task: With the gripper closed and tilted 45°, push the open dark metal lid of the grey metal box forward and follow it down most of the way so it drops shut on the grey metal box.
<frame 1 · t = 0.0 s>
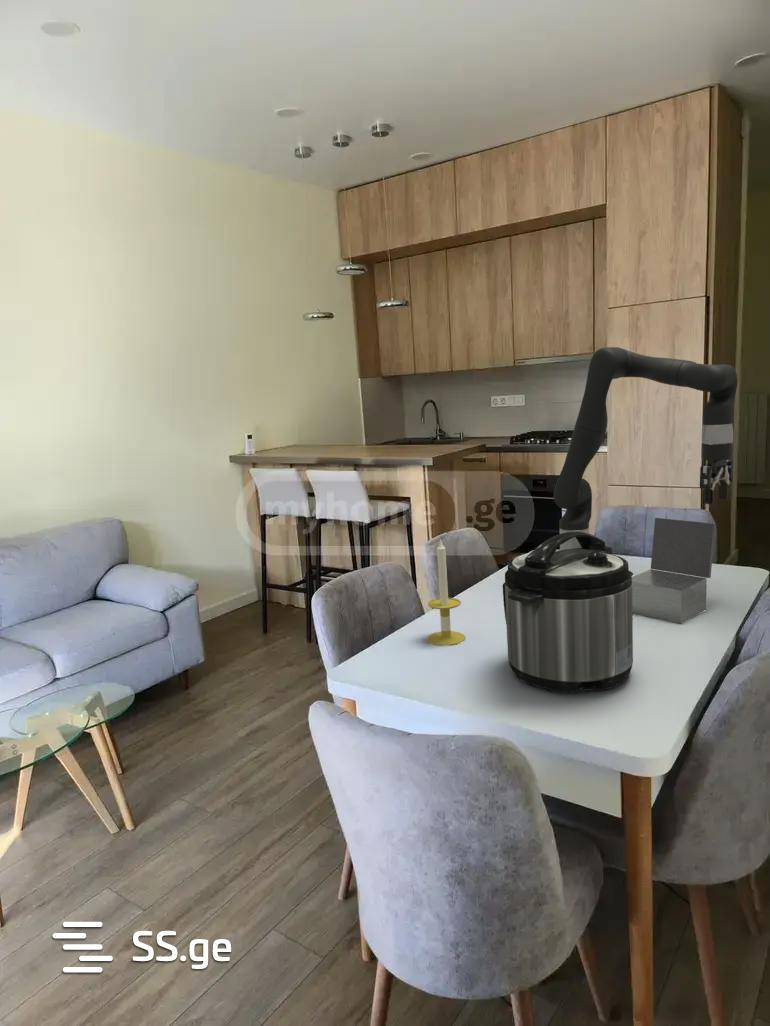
hand: (716, 501, 181), 29 cm above the table, tool pointing down, fingers open, 8 cm apart
candle: (446, 639, 176), on the table
grey metal box: (665, 610, 185), on the table
lid: (683, 546, 188), point 16 cm above the table, hinge at 100.0°
pressure cooker: (566, 671, 151), on the table
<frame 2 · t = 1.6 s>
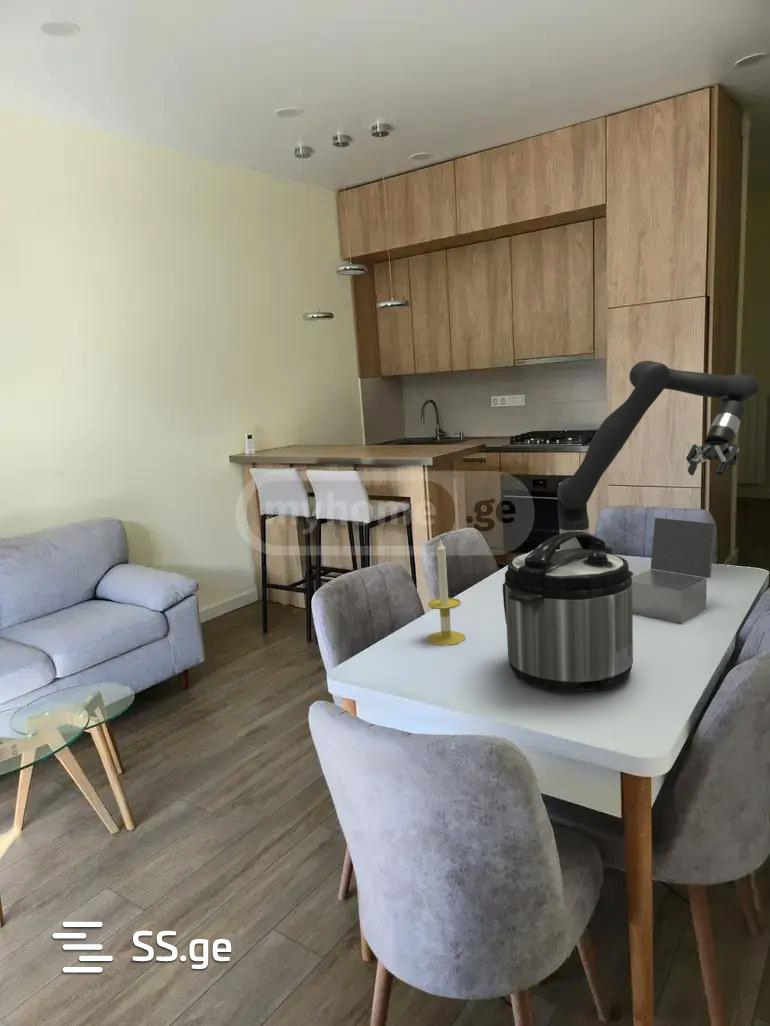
hand: (704, 474, 202), 34 cm above the table, tool tilted 45°, fingers open, 8 cm apart
nothing on the table moved.
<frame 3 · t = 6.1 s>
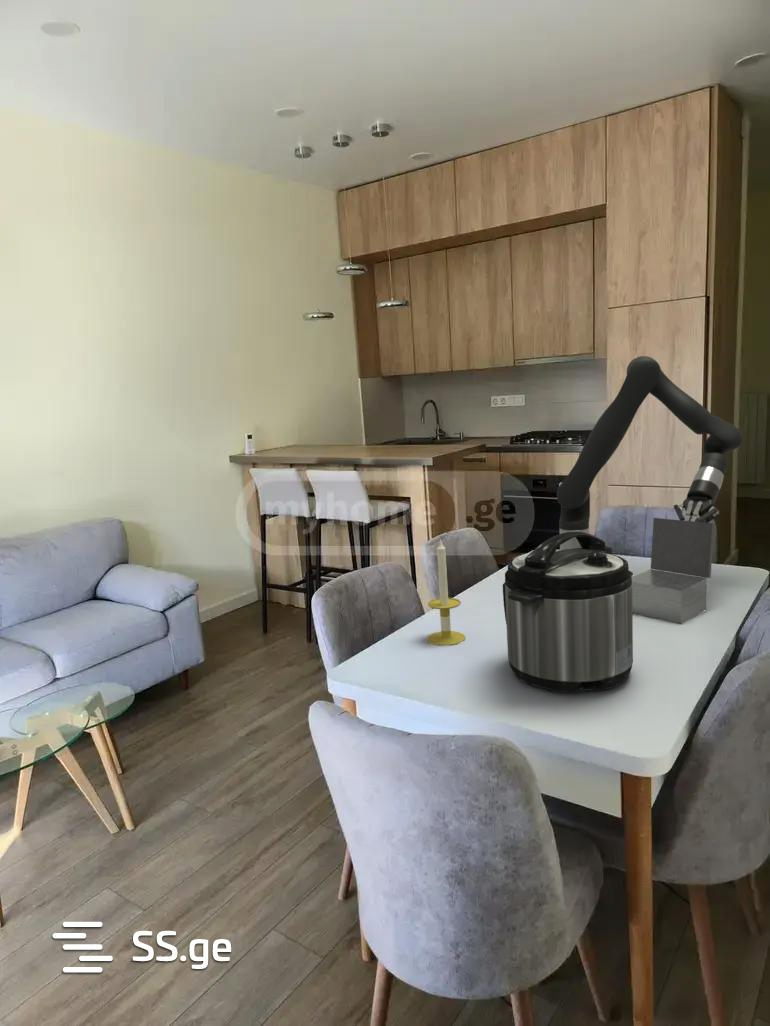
hand: (685, 535, 189), 19 cm above the table, tool tilted 45°, fingers closed
lid: (682, 546, 188), point 16 cm above the table, hinge at 96.8°
everything else where it was.
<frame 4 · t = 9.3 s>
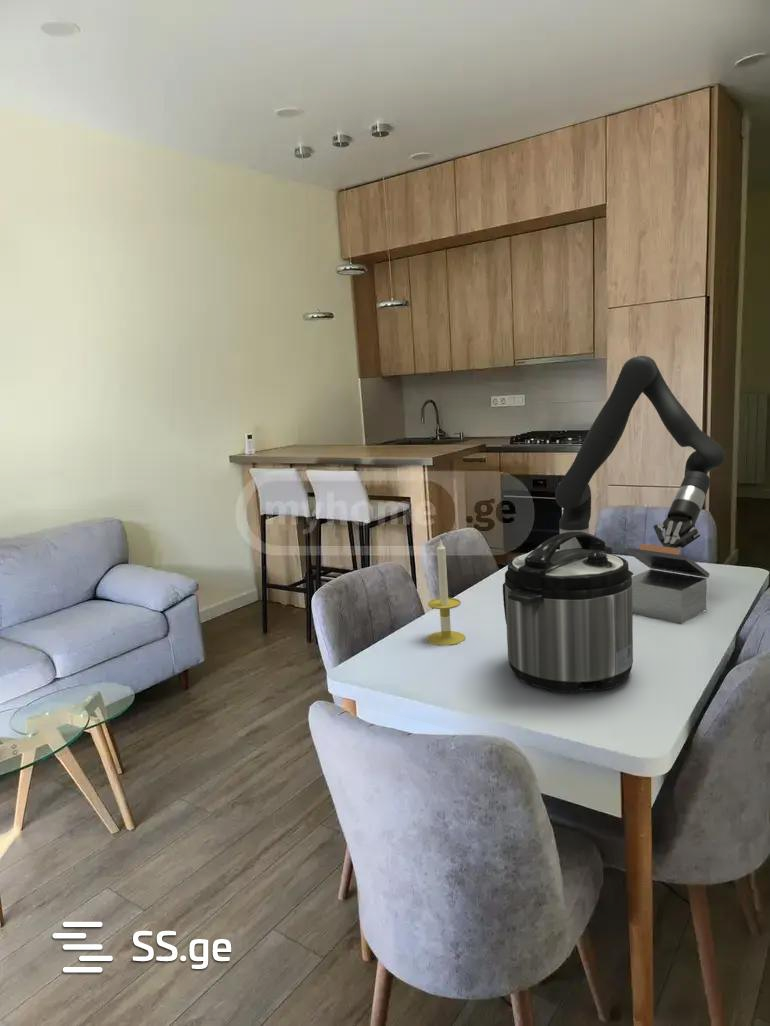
hand: (665, 557, 182), 15 cm above the table, tool tilted 45°, fingers closed
lid: (668, 559, 183), point 14 cm above the table, hinge at 30.9°, touching gripper
everything else where it was.
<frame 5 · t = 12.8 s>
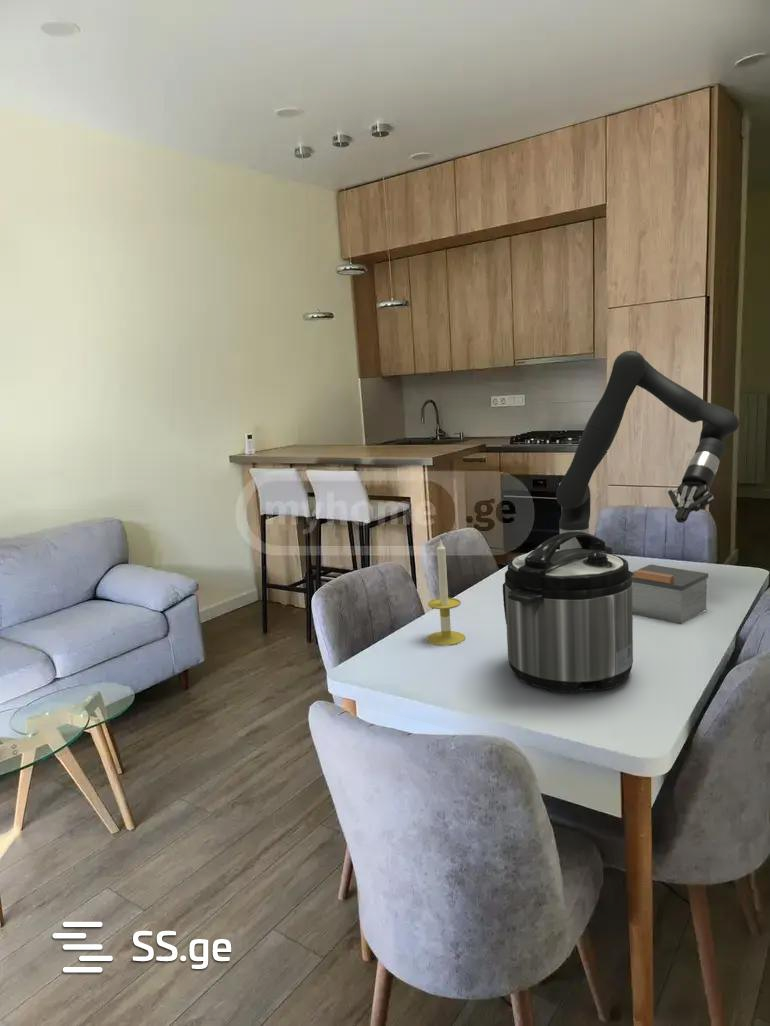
hand: (679, 521, 185), 24 cm above the table, tool tilted 45°, fingers closed
lid: (665, 573, 183), point 11 cm above the table, hinge at -0.1°
everything else where it was.
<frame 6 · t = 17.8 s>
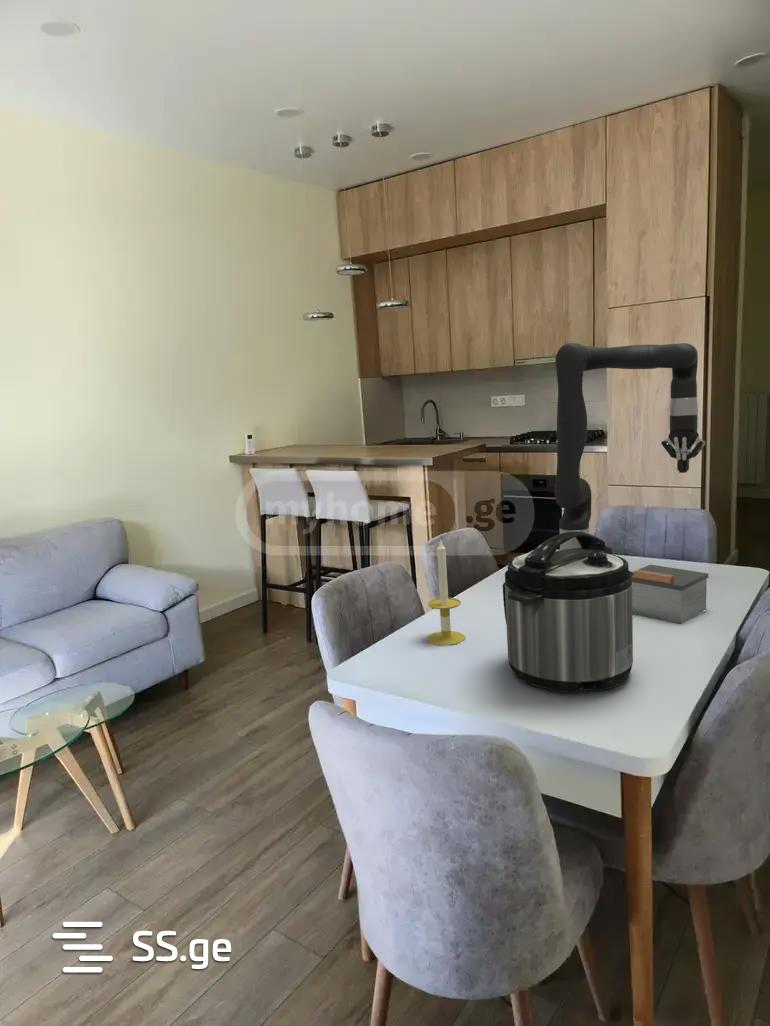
hand: (683, 472, 199), 35 cm above the table, tool pointing down, fingers closed
nothing on the table moved.
at the end: lid at +0° (first picture: +100°) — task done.
